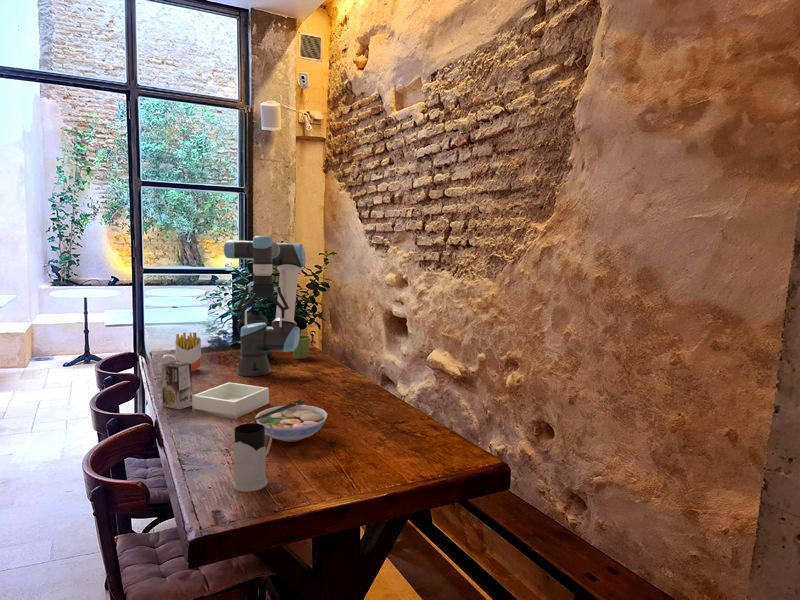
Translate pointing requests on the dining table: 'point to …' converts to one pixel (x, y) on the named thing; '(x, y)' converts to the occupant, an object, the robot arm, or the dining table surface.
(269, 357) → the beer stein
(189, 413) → the dining table surface
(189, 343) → the french fries container
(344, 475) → the dining table surface
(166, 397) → the coffee box
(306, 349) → the plant pot
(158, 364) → the watch
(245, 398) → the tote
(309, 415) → the ramen bowl
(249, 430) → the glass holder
